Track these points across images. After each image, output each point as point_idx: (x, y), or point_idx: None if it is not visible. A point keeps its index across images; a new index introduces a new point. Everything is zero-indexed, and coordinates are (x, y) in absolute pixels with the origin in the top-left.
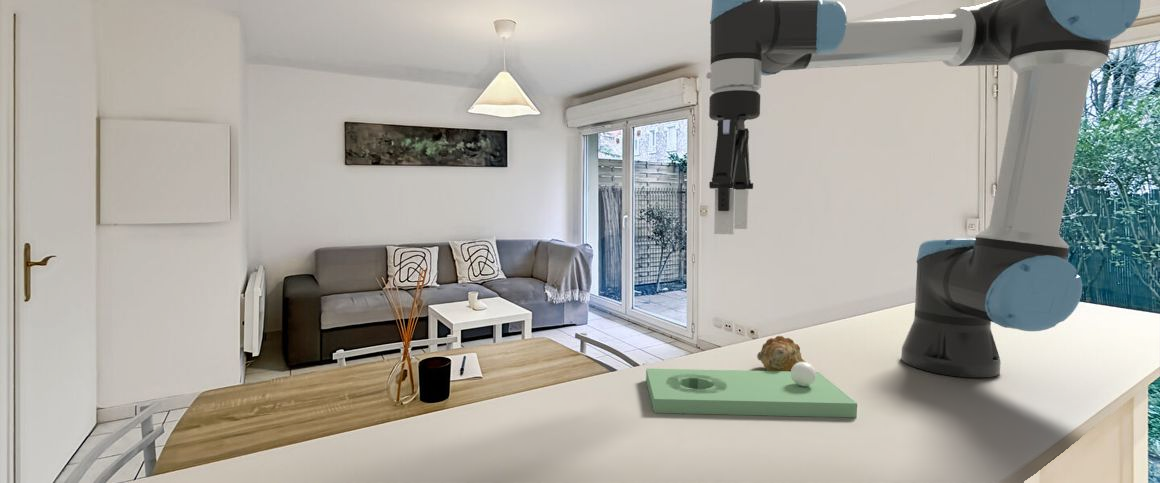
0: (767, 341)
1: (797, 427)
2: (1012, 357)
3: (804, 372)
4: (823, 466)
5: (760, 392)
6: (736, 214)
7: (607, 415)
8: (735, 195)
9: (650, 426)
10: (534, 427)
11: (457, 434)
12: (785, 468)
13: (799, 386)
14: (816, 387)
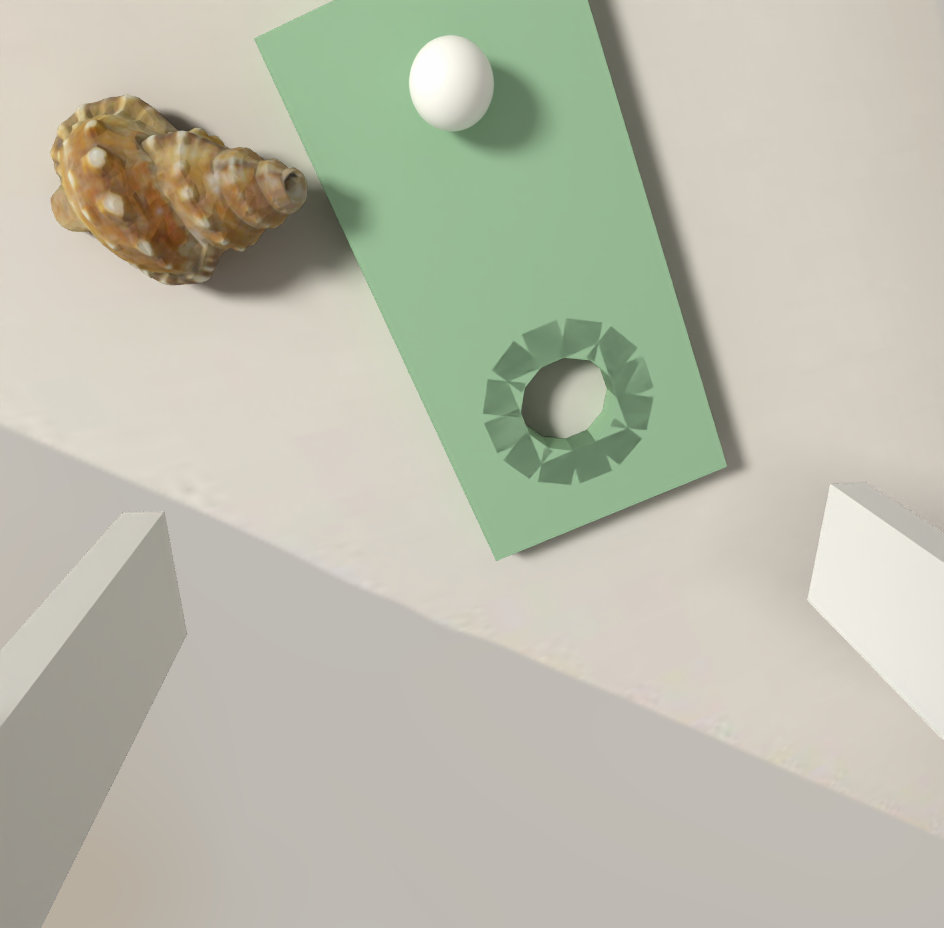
0: (157, 252)
1: (687, 96)
2: None
3: (490, 76)
4: (904, 18)
5: (574, 218)
6: (132, 670)
7: (759, 537)
8: (44, 851)
9: (791, 436)
10: None
11: None
12: (933, 108)
13: None
14: None
